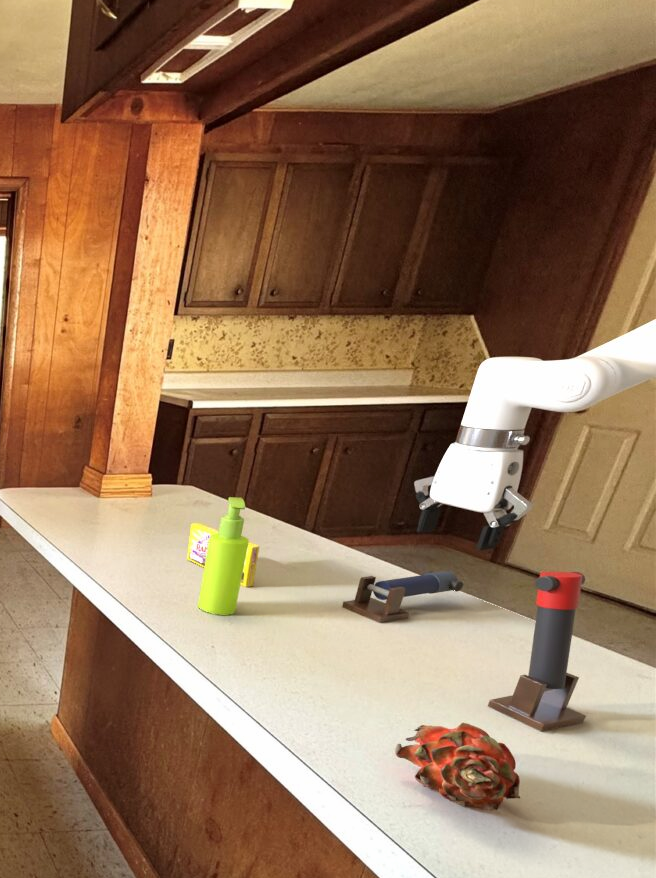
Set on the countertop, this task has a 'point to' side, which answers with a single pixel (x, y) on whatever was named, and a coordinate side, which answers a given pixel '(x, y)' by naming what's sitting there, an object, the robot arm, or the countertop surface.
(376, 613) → the holder
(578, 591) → the red marker
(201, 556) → the candy box
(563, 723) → the holder
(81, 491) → the countertop surface
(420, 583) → the navy marker
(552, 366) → the robot arm
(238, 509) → the soap dispenser
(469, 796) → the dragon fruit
